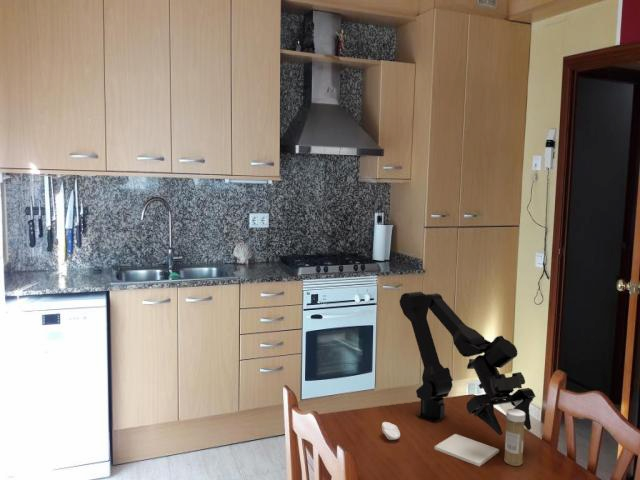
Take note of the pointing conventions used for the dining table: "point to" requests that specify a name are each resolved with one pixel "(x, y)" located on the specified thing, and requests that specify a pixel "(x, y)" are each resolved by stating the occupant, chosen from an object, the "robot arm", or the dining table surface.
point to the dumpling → (390, 431)
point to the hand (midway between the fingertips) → (515, 432)
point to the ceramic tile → (467, 449)
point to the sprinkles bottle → (514, 437)
